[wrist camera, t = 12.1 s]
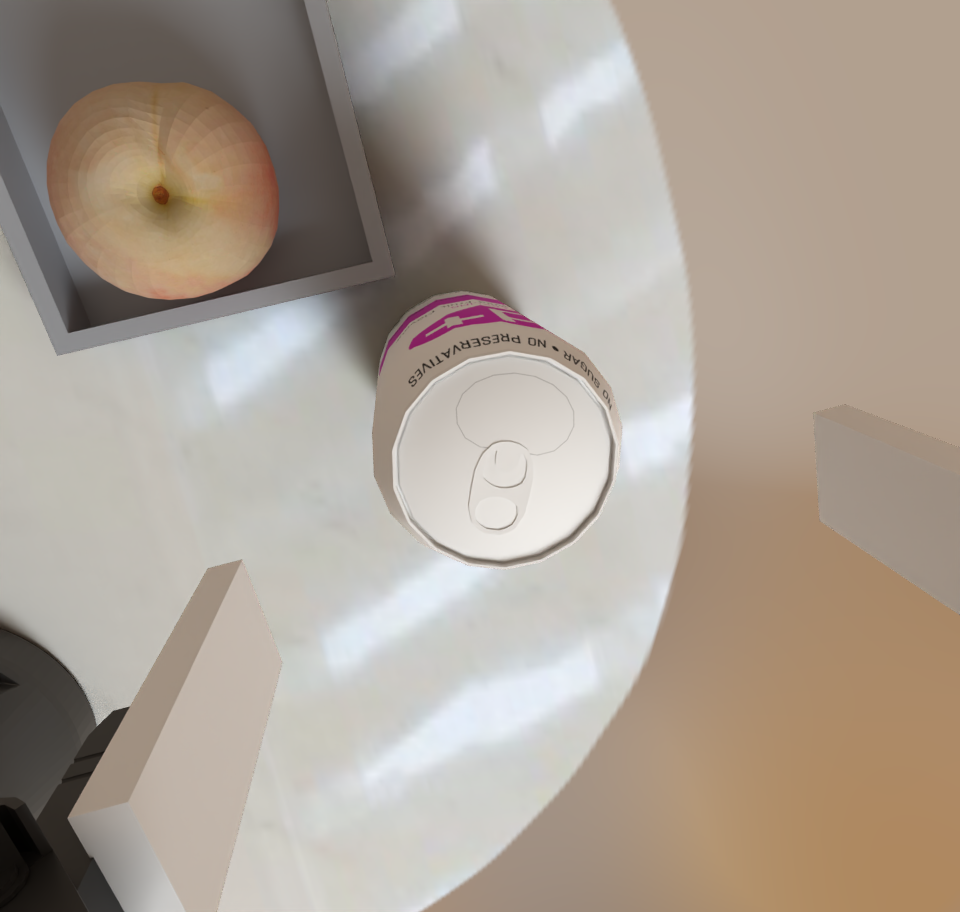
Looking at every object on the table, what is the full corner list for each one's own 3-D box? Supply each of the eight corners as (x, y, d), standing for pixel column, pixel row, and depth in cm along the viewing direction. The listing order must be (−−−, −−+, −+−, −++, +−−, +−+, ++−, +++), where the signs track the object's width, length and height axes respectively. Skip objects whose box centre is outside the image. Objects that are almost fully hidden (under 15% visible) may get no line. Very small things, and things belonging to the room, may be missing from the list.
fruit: (289, 299, 32) (257, 319, 24) (108, 282, 31) (16, 297, 23) (293, 114, 29) (259, 72, 22) (97, 87, 28) (-10, 34, 21)
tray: (87, 345, 32) (57, 355, 29) (-116, -140, 26) (-179, -187, 23) (394, 272, 33) (395, 276, 30) (270, -217, 26) (256, -272, 23)
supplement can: (391, 276, 33) (390, 307, 18) (553, 306, 34) (668, 356, 20) (368, 435, 35) (352, 571, 21) (521, 456, 36) (604, 597, 22)
